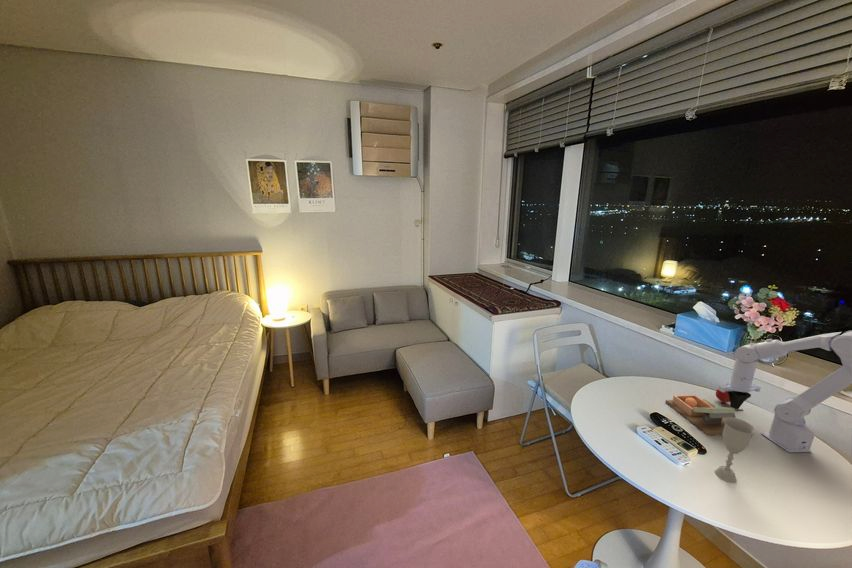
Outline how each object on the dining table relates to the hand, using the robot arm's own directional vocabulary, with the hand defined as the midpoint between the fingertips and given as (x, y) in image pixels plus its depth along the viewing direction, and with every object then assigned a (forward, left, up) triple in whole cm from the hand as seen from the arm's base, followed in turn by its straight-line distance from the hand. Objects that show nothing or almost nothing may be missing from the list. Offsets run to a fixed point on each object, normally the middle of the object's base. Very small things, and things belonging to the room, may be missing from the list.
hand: (734, 407), depth 127 cm
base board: (+1, +10, -5) cm, 11 cm away
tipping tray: (-4, +7, -1) cm, 9 cm away
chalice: (-27, +28, -5) cm, 39 cm away
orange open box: (+5, +12, -5) cm, 14 cm away
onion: (+10, -6, -5) cm, 13 cm away
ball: (+6, +12, -2) cm, 13 cm away
